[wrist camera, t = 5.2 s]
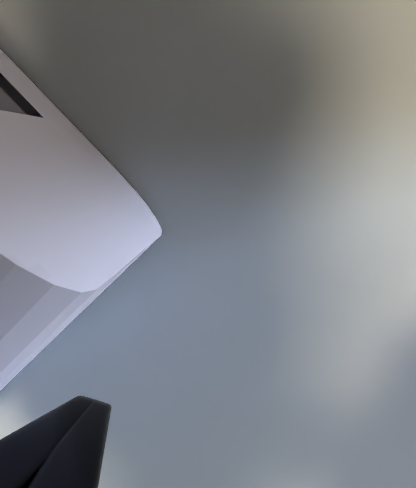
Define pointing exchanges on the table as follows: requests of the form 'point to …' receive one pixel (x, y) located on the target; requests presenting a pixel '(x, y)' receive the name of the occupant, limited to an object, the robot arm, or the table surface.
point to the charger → (56, 221)
